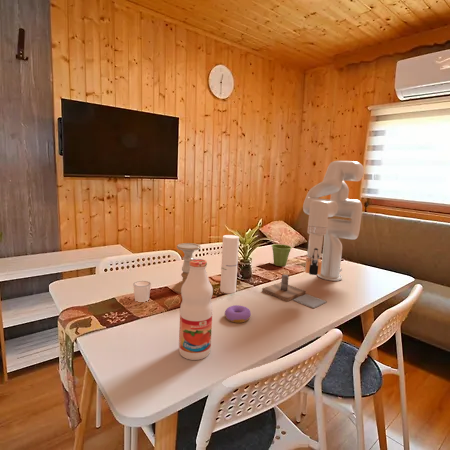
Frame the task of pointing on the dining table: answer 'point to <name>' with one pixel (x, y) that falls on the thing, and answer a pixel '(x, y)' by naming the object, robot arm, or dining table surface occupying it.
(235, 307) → the donut
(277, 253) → the plant pot
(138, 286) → the shot glass
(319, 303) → the rubber pad
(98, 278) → the dining table surface
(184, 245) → the candle holder
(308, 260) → the orange bevelled cube
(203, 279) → the fruit juice
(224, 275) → the cylindrical container
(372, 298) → the dining table surface
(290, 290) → the post stand
